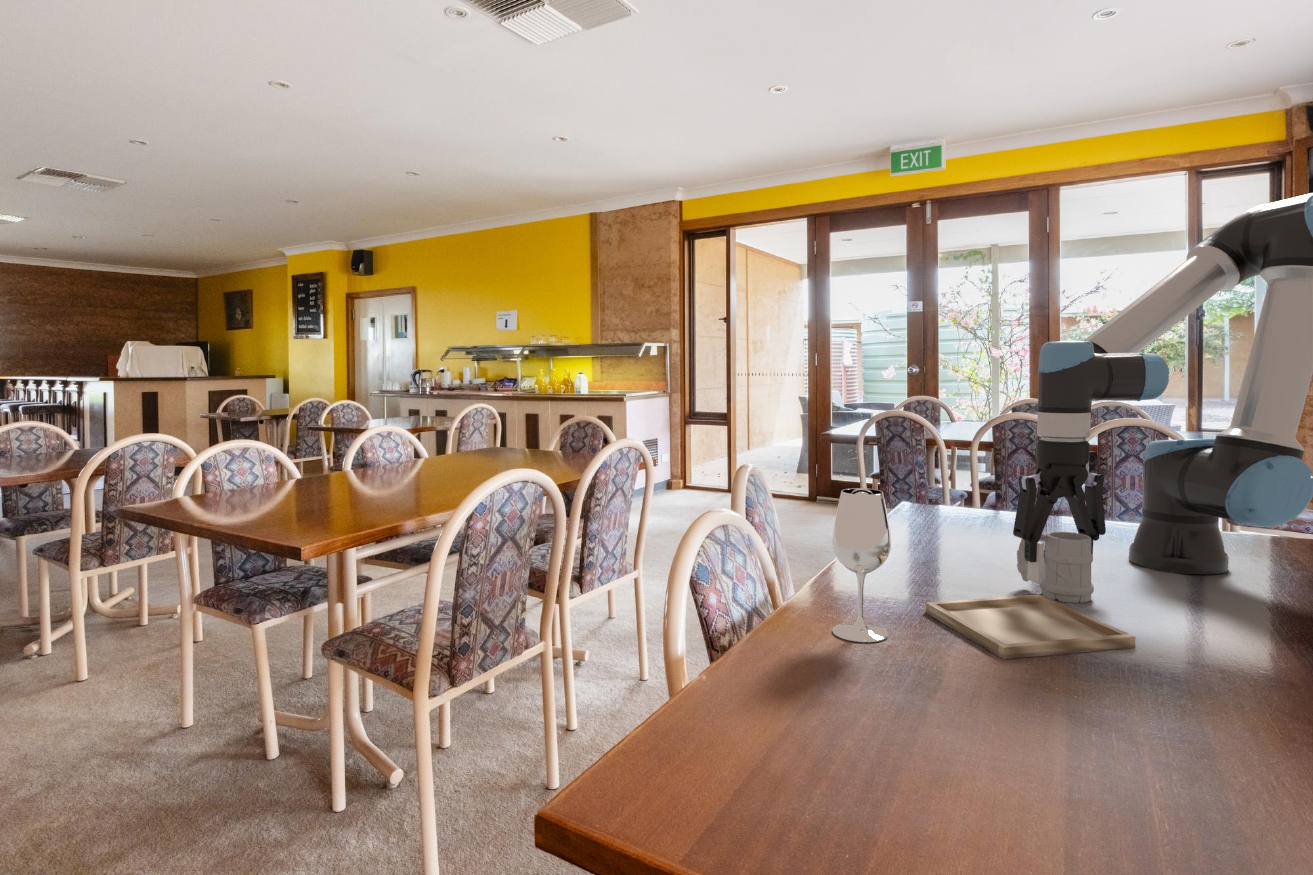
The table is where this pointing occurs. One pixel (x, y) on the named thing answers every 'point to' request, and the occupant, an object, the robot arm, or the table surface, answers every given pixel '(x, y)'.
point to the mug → (1063, 566)
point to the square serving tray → (1028, 626)
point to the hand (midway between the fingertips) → (1057, 579)
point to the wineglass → (861, 550)
